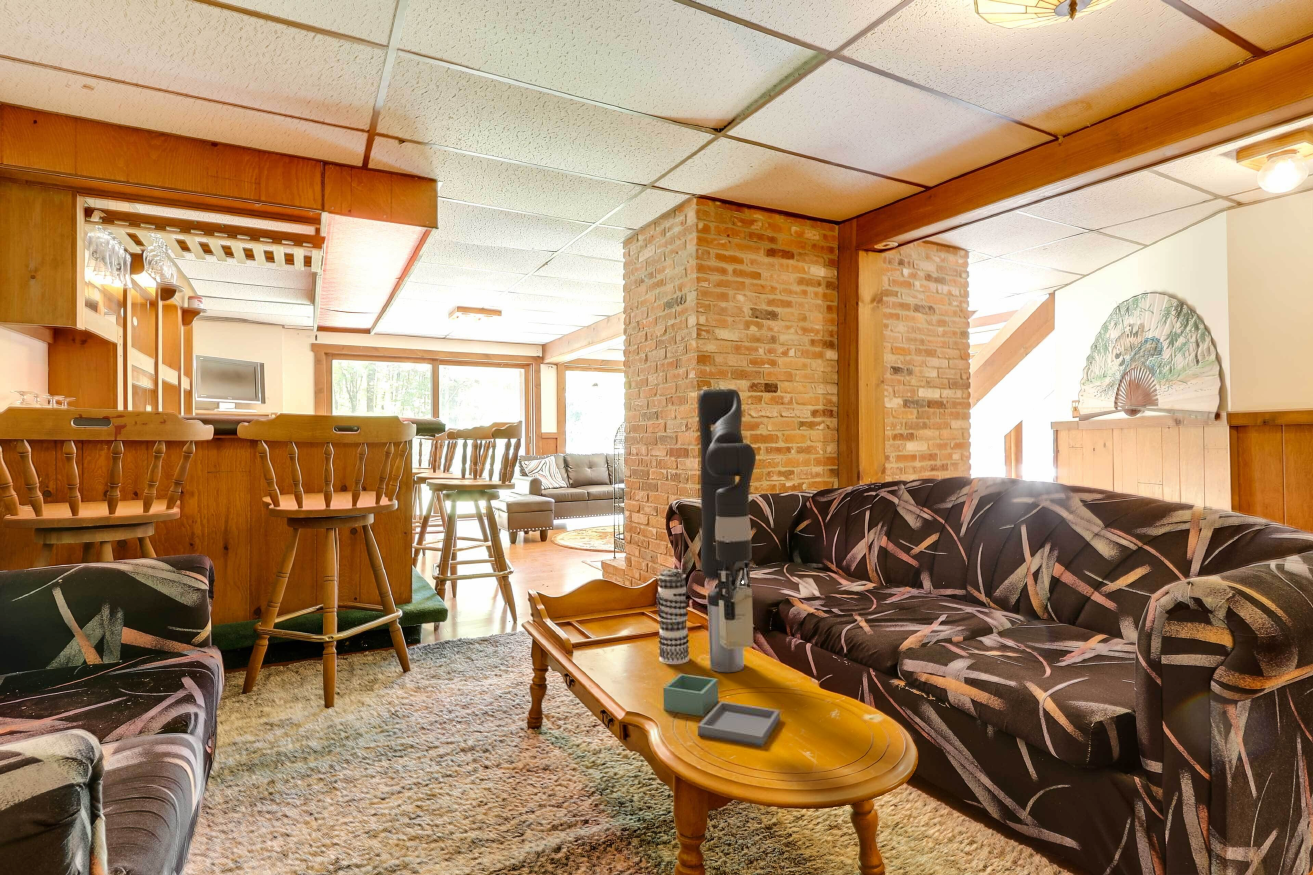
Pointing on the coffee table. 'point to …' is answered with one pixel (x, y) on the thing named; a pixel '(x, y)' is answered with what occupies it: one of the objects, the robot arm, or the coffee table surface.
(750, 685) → the coffee table surface
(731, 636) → the skincare box
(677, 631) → the decorative candle
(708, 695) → the teal square open box
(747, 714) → the tray
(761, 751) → the coffee table surface
